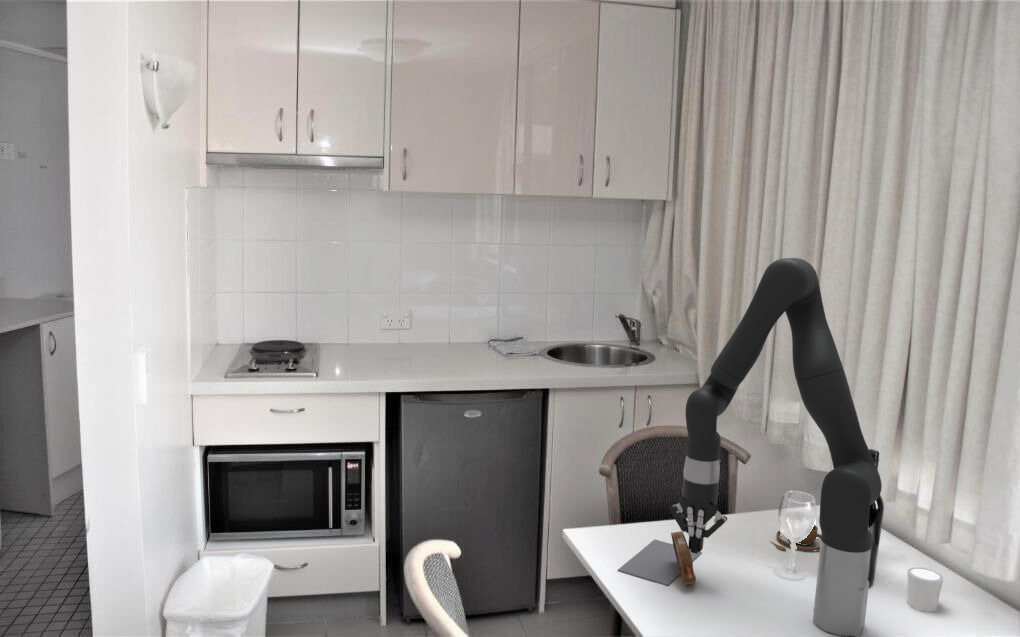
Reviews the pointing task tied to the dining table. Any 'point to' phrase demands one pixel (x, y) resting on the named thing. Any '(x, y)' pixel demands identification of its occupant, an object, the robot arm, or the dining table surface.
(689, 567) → the tin
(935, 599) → the white cup
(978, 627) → the dining table surface
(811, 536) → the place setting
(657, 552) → the mat
